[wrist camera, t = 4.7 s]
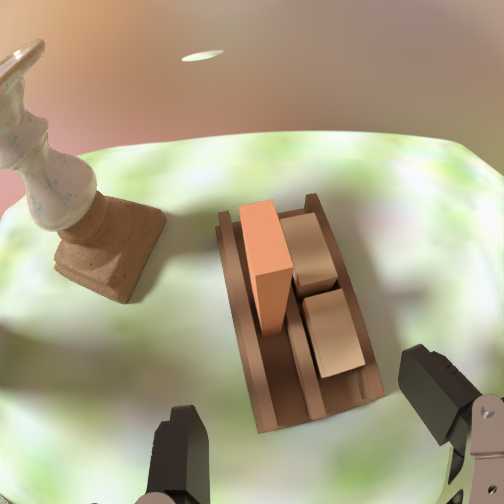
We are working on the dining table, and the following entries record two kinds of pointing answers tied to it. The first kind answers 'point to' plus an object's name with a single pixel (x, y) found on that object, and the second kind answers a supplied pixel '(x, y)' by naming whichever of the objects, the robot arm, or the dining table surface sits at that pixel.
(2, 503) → the utensil holder
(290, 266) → the slat
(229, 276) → the rack
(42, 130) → the candle holder
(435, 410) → the robot arm
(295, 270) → the offcut block
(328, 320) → the offcut block
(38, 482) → the dining table surface
